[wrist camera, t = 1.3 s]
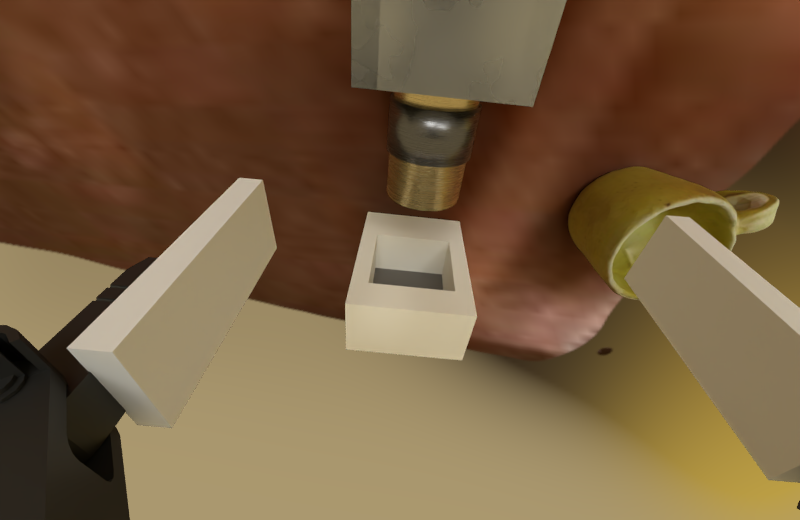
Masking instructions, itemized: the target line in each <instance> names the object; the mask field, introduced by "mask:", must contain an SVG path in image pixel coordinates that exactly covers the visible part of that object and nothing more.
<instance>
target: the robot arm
mask: <svg viewBox="0 0 800 520" xmlns="http://www.w3.org/2000/svg"><path fill="white" fill-rule="evenodd" d="M276 249H277V246H276V242H275V237H274V232H273V227H272V222H271V217H270V212H269V208H268V203H267V198H266V193H265V188H264V183H263V180H258V179H247V178H239V179H238V180H237V181H236V182H235V183H234V184H233V185H231V186H230V187H229V188H228V189H227V190H226V191H225V192H224V193H223V194H222V195H221V196H220V197H219V198H218V199H217V200H216V201H215V202H214V203H213V204H212V205H211V206H210V207H209V208H208V209H207V210H206V211H205V212H204V213H203V214H202V215H201V216H200V217H199V218H198V219H197V220H196V221H195V222H194V223H193V224H192V225H191V226H190V227H189V228H188V229H187V230H186V231H185V232H184V233H183V234H182V235H181V236H180V237H179V238H178V239H177V240H176V241H175V242H174V243H173V244H172V245H171V246H170V247H169V248H168V249H167V250H166V251H165V252H164V253H162V254H161V255H160V256H159V257H158V258H152V257H148V258H147V259H145V260H143V261H141V262H139V263H138V264H136V265H134V266H132V267H130V268H129V269H127V270H126V271H125V272H124V273H122V274H121V275H120V276H119V277H118V278H117V279H116V280H115V281H114V282H113V283H112V284H111V287H110V288H106V289H105V290H104V291H103V292H102V293H101V294H100V295H99V296H97V300H96V301H92V302H91V303H90V304H89V305H88V306H87V307H86V308H85V309H83V310H82V311H81V312H80V313H79V314H78V315H77V316H76V317H75V318H74V319H73V320H72V321H70V322H69V323H68V324H67V325H66V326H65V327H64V328H63V329H62V330H61V331H59V332H58V333H57V334H56V335H55V336H54V337H53V338H52V339H51V340H50V341H49V342H48V343H46V344H45V345H44V346H43V347H42V348H41V349H40V350H39V351H38V350H37V349H36V348H35V347H34V346H33V345H32V344H31V343H30V342H29V341H28V340H27V339H26V338H25V337H24V336H22V334H21V333H20V332H19V331H17V330H16V329H14V328H11V327H9V326H7V325H0V520H130V518H129V509H128V500H127V493H126V492H127V491H126V483H125V475H124V465H123V457H122V448H121V440H120V434H119V432H118V430H117V428H116V427H115V425H116V424H117V423H118V421H119V420H120V419H121V417H122V416H123V414H124V413H125V412H126V413H127V414H128V415H129V417H130V418H131V419H132V420H133V421H134V422H135V423H136V424H137V425H143V426H154V427H167V428H172V427H173V426H174V424H175V422H176V421H177V419H178V417H179V415H180V414H181V412H182V410H183V409H184V407H185V405H186V403H187V402H188V400H189V398H190V397H191V395H192V393H193V391H194V390H195V388H196V386H197V385H198V383H199V381H200V379H201V378H202V376H203V374H204V372H205V371H206V369H207V367H208V366H209V364H210V362H211V360H212V359H213V357H214V355H215V354H216V352H217V350H218V348H219V347H220V345H221V343H222V342H223V340H224V338H225V336H226V335H227V333H228V331H229V329H230V328H231V326H232V324H233V323H234V321H235V319H236V317H237V316H238V314H239V312H240V310H241V309H242V307H243V305H244V304H245V302H246V300H247V299H248V297H249V295H250V293H251V292H252V290H253V288H254V286H255V285H256V283H257V281H258V280H259V278H260V276H261V274H262V273H263V271H264V269H265V268H266V266H267V264H268V262H269V261H270V259H271V257H272V255H273V254H274V252H275V250H276ZM624 279H625V280H626V282H627V283H628V285H629V286H630V287H631V289H632V290H633V292H634V293H635V294H636V296H637V297H638V298H639V300H640V301H641V303H642V304H643V305H644V307H645V308H646V310H647V311H648V312H649V314H650V315H651V317H652V318H653V319H654V321H655V322H656V324H657V325H658V326H659V328H660V329H661V331H662V332H663V333H664V335H665V336H666V338H667V339H668V340H669V342H670V343H671V345H672V346H673V347H674V349H675V350H676V351H677V353H678V354H679V356H680V357H681V359H682V360H683V361H684V363H685V364H686V366H687V367H688V368H689V370H690V371H691V373H692V374H693V375H694V377H695V378H696V379H697V381H698V382H699V383H700V385H701V386H702V388H703V389H704V391H705V392H706V393H707V395H708V396H709V397H710V399H711V400H712V402H713V403H714V405H715V406H716V407H717V409H718V410H719V412H720V413H721V414H722V416H723V417H724V419H725V420H726V421H727V423H728V424H729V426H730V427H731V428H732V430H733V431H734V433H735V434H736V435H737V437H738V438H739V439H740V441H741V442H742V444H743V445H744V446H745V448H746V449H747V451H748V452H749V454H750V455H751V456H752V458H753V459H754V461H755V462H756V463H757V465H758V466H759V467H760V469H761V470H762V472H763V473H764V474H765V476H766V477H767V479H768V480H775V481H786V482H798V483H800V308H799V307H798V306H796V305H795V304H794V303H793V302H791V301H790V300H789V299H788V298H787V297H785V296H784V295H783V294H782V293H781V292H779V291H778V290H777V289H776V288H775V287H773V286H772V285H771V284H770V283H768V282H767V281H766V280H765V279H764V278H762V277H761V276H760V275H759V274H758V273H756V272H755V271H754V270H753V269H751V268H750V267H749V266H748V265H747V264H745V263H744V262H743V261H742V260H741V259H739V258H738V257H737V256H736V255H734V254H733V253H732V252H731V251H730V250H729V249H727V248H726V247H725V246H724V245H722V244H721V243H720V242H719V241H718V240H716V239H715V238H714V237H713V236H712V235H710V234H709V233H708V232H707V231H706V230H704V229H703V228H702V227H701V226H699V225H698V224H697V223H696V222H695V221H693V220H692V219H691V218H690V217H680V216H668V215H666V216H665V218H664V219H663V221H662V222H661V224H660V225H659V227H658V228H657V230H656V231H655V233H654V234H653V236H652V237H651V239H650V240H649V242H648V243H647V245H646V246H645V248H644V249H643V251H642V252H641V254H640V255H639V257H638V258H637V260H636V261H635V263H634V264H633V266H632V267H631V269H630V270H629V272H628V273H627V275H626V276H625V278H624ZM797 508H798V509H799V510H800V501H799V503H798V506H797Z"/></svg>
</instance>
